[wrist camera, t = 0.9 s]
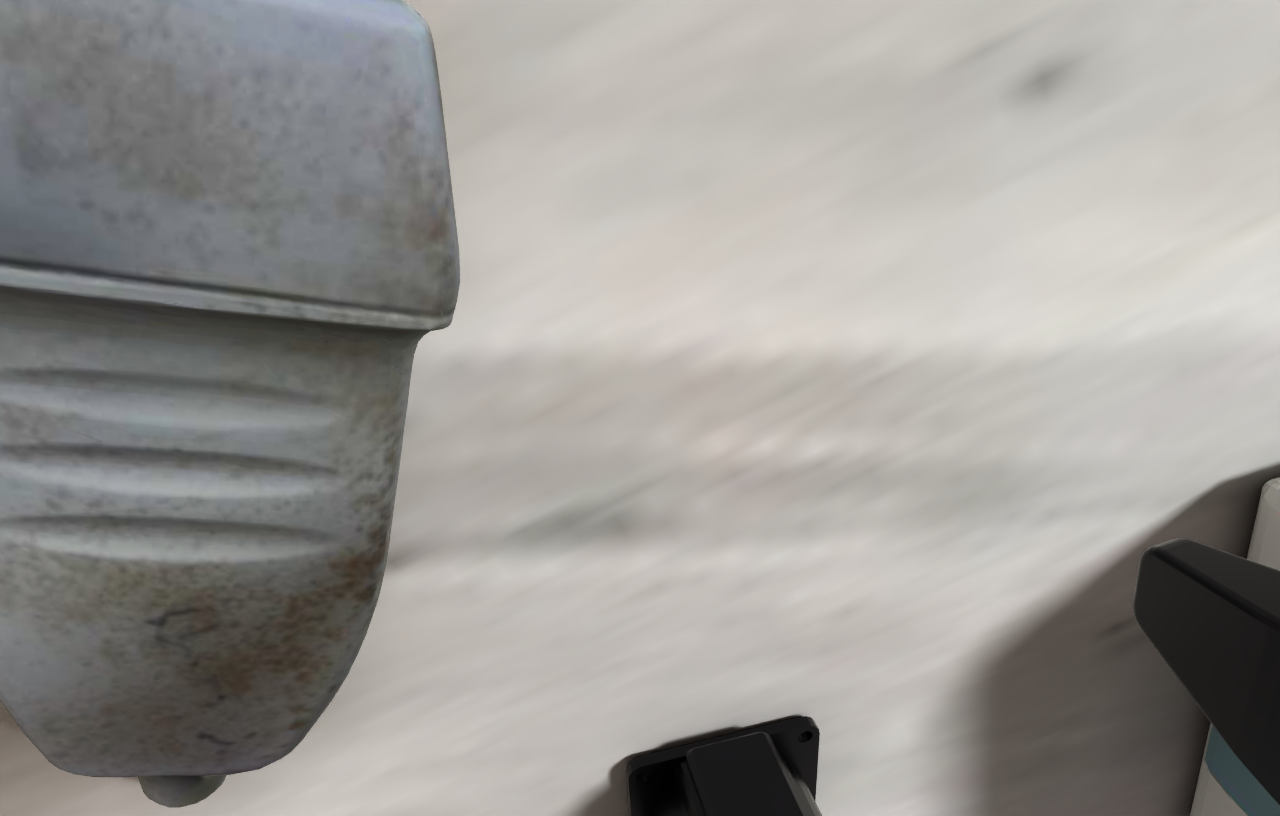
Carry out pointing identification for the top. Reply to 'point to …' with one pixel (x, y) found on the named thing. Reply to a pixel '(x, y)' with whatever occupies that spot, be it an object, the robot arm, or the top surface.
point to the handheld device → (206, 364)
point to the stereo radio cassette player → (1226, 790)
